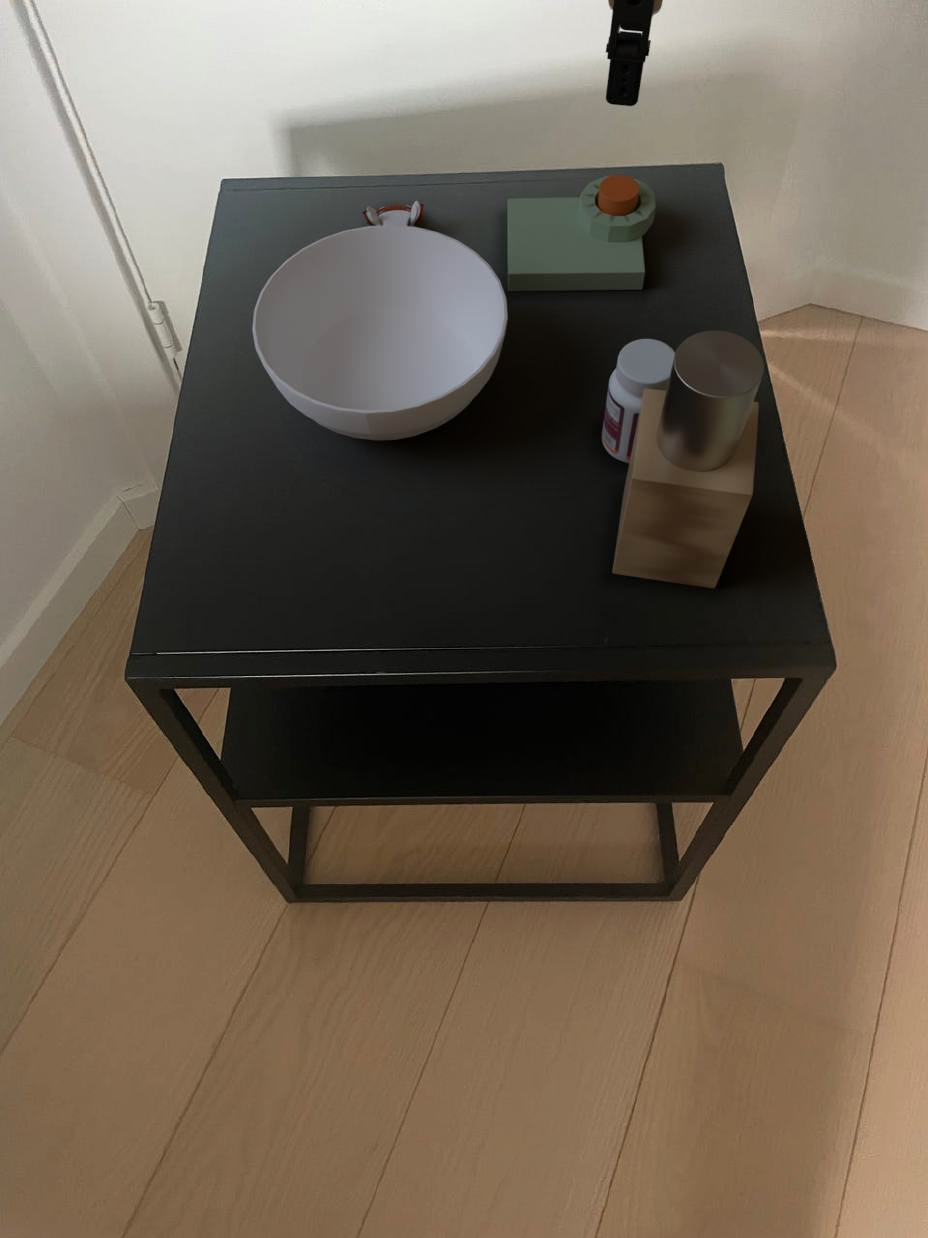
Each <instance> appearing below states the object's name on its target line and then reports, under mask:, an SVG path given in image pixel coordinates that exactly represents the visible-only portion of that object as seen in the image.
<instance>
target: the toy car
mask: <svg viewBox="0 0 928 1238" xmlns="http://www.w3.org/2000/svg"><path fill="white" fill-rule="evenodd" d="M424 206H425V204H424V203H420V202H419V201H418V200H415V201H414V203H413V204H412V205H408V204H400V203H399V204H398V203H394V204H390V205H385V206H382V207H380V208H378V210H375V208H373V206H370V205H367V207H366V210H364V211H362V215H364V218H365V220H366V225H367V226H381V225H399V226H410V227H417V226H418V225H419V223H420V222H421V221H422V220H423V219H424V218H425V216H424Z"/></svg>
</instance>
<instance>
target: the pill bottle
mask: <svg viewBox="0 0 928 1238" xmlns="http://www.w3.org/2000/svg"><path fill="white" fill-rule="evenodd" d="M675 352H676V351H675V350H674V349H673V348H672V347H671V346H669V344H667V343H665V342H663V341H661V340H657V339H652V338H640V339H636V340H633V341H630V342H629V343H627V344H626V345H624V346H623V347H622V348H621V350H620V351H619V354H618V356H617V361H616V368H615V369H614V370H613V371H612V373H611V375H610V377H609V380H608V384H607V385H608V386H607V394H606V395H607V396H606V401H605V409H604V416H603V423H602V430H601V431H602V432H601V441H602V445H603V447H604V449H605V451H606V452H607V453H608V454H609V455H610V456H611V457H613V458H614V459H616V460H618V461H620V462H623V463H626V464H629V463H630V458H631V453H632V448H633V443H634V438H635V433H636V427H637V422H638V417H639V412H640V407H641V402H642V397H643V392H644V389H645V388H647V389H655V390H663V391H666V390H667V386H668V381H669V377H670V373H671V368H672V364H673V360H674V355H675Z"/></svg>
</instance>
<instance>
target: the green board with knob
mask: <svg viewBox="0 0 928 1238" xmlns="http://www.w3.org/2000/svg"><path fill="white" fill-rule="evenodd" d="M609 176H610V175H605V176H602V177H600V178H597V179H595V180H593V181H590V182H588V183H587V185H586V186H585V188H584V189H583V190H582V191H581V193H580V195H579V197H578V196H576V197H574V196H571V197H515V198H511V197H510V198H508V199H507V218H506V219H507V292H558V291H559V292H561V291H564V292H565V291H566V292H568V291H571V292H573V291H639V290H640V291H642V290H643V287H644V281H645V275H646V266H645V257H644V247H643V236H644V235H646V233H647V232H648V230H649V229H650V227H651V226H652V225H653V223H654V220H655V215H656V210H657V209H656V208H657V203H656V196H655V192H654V191H653V190H652V189H651V188H650V187H649V186H648V185H647V184H646V183H645V182H644V181H642V180H639V179H637V178H634V177H632V178H633V179H634V180H635V181H636V182H637V183H638V185H639V195H638V202H637V207H636V209H635V210H634V212H632V213H631V214H629V215H626V216H612V215H609V214H606V213H603V212H602V211H601V210H600V208H599V206H598V197H599V188H600V184H601V182H602V181H603V180H604V179H605V178H607V177H609Z"/></svg>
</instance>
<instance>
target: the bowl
mask: <svg viewBox="0 0 928 1238" xmlns="http://www.w3.org/2000/svg"><path fill="white" fill-rule="evenodd" d="M254 307H255V308H254V309H253V318H252V319H253V320H252V337H253V342H254V348H255V351H256V353H257V355H258V358H259V359H260V361H261V363H262V366H263V367H264V369H265V371H266V372H267V374H268V376H269V377H270V379H271V381H272V382H273V384H274V385H275V387H276V388H277V390H278V391H279V392H280V394H281V395H282V396H283V397H284V398H285V399H286V401H287V402H288V403H289V404H290V406H292V407H293V408H295V409H296V410H297V411H299V412H300V413H302V414H303V415H304V416H305V417H307V418H309V419H311V420H313V422H315V423H317V424H318V425H319V426H322V427H324V428H326V429H328V430H330V431H332V432H334V433H336V434H340V435H343V436H347V437H350V438H352V439H353V438H354V439H360V440H368V441H369V440H371V441H396V440H402V439H407V438H412V437H416V436H418V435H421V434H424V433H427V432H428V431H429V432H430V431H432V430H434V429H437V428H438V427H440V426H442V425H444V424H446V423H447V422H448V421H449V422H450V421H451V420H452V419H454V418H455V417H456V416H457V415H459V414H460V413H461V412H463V410H465V409H466V408H467V407H468V406H469V405H470V404H471V402H472V401H473V400H474V398H475V397H477V396H478V395H479V393H480V392H481V391H482V389H483V388H484V387H485V385H486V384H487V383H488V381H490V379H491V377H492V375H493V373H494V370H495V369H496V366H497V364H498V362H499V358H500V355H501V352H502V348H503V345H504V344H503V343H504V340H505V336H506V331H507V326H508V321H509V316H508V315H509V314H508V313H509V312H508V300H507V296H506V293H505V291H504V288H503V286H502V282H501V280H500V278H499V277H498V275H497V274H496V273H495V271H494V270H493V268H492V267H491V265H490V264H489V262H487V261H486V260H485V259H484V258H483V257H481V255H480V254H479V253H478V252H476V251H475V250H474V249H472V248H470V247H469V246H467V245H466V244H464V243H463V242H462V241H460V240H458V239H456V238H453V237H450V236H448V235H446V234H443V233H441V232H438V231H434V230H430V229H427V228H421V227H417V226H416V227H410V226H399V225H381V226H370V225H367V226H362V227H358V228H352V229H351V228H350V229H346V230H343V231H340V232H337V233H334V234H331V235H328V236H324V237H322V238H321V239H318V240H317V241H314V242H312V243H311V244H309V245H307V246H305V247H303V248H301V249H300V250H299V251H297V252H296V253H294V254H293V255H291V256H290V257H289V258H287V259H286V260H285V261H284V262H283V263H282V264H281V265H280V266H279V267H278V268H277V269H276V270H275V271H274V272H273V273H272V274H271V275H270V277H269V278H268V280H267V281H266V283H265V285H264V286H263V288H262V289H261V291H260V293H259V296H258V298H257V301H256V304H255V306H254Z"/></svg>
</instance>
